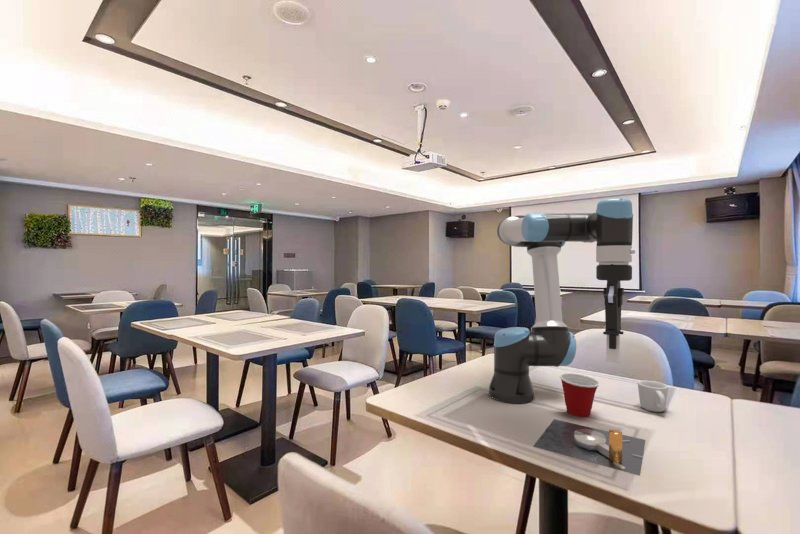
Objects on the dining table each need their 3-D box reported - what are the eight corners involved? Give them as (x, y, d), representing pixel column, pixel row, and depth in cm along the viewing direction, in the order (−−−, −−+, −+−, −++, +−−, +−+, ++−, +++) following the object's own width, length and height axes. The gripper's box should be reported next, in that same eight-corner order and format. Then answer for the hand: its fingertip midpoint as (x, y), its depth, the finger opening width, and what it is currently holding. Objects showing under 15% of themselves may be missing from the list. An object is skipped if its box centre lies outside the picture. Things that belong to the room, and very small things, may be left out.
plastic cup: (592, 429, 106) (592, 386, 106) (553, 418, 113) (553, 377, 113) (604, 418, 113) (605, 378, 113) (567, 408, 121) (568, 370, 121)
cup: (677, 418, 113) (677, 391, 113) (647, 416, 115) (648, 390, 114) (660, 405, 124) (660, 381, 123) (633, 403, 125) (633, 379, 125)
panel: (533, 452, 93) (533, 445, 93) (553, 424, 109) (554, 418, 109) (639, 482, 80) (640, 474, 80) (645, 445, 96) (645, 439, 96)
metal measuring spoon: (567, 438, 96) (567, 414, 96) (591, 435, 98) (591, 411, 98) (606, 464, 84) (607, 436, 84) (633, 460, 85) (633, 432, 85)
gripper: (629, 264, 84) (628, 370, 85) (634, 263, 95) (633, 358, 95) (592, 263, 89) (591, 365, 89) (600, 263, 99) (599, 354, 100)
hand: (613, 361), depth 92 cm, fingers closed
